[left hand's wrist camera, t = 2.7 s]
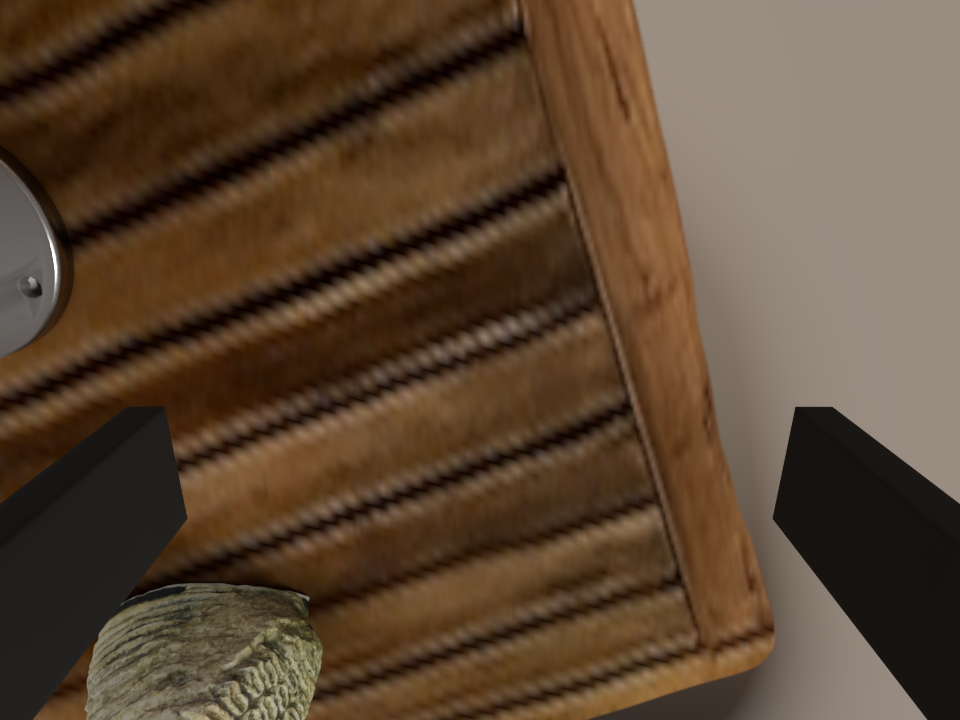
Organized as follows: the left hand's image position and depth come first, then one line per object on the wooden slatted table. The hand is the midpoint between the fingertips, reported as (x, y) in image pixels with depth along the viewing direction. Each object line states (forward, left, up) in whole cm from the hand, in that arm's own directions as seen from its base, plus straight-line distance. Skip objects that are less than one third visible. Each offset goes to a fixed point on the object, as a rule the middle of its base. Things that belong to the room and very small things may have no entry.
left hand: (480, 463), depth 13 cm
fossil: (-32, -19, -28) cm, 46 cm away
